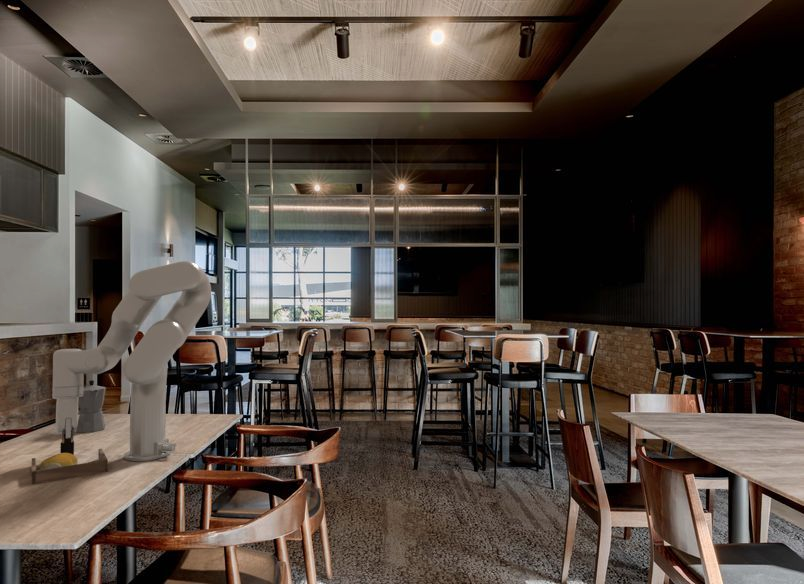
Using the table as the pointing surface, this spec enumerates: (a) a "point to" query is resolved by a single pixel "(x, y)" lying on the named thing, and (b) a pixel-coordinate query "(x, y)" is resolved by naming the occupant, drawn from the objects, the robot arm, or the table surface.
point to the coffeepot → (91, 409)
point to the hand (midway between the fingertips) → (67, 455)
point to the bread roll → (58, 461)
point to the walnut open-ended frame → (70, 470)
